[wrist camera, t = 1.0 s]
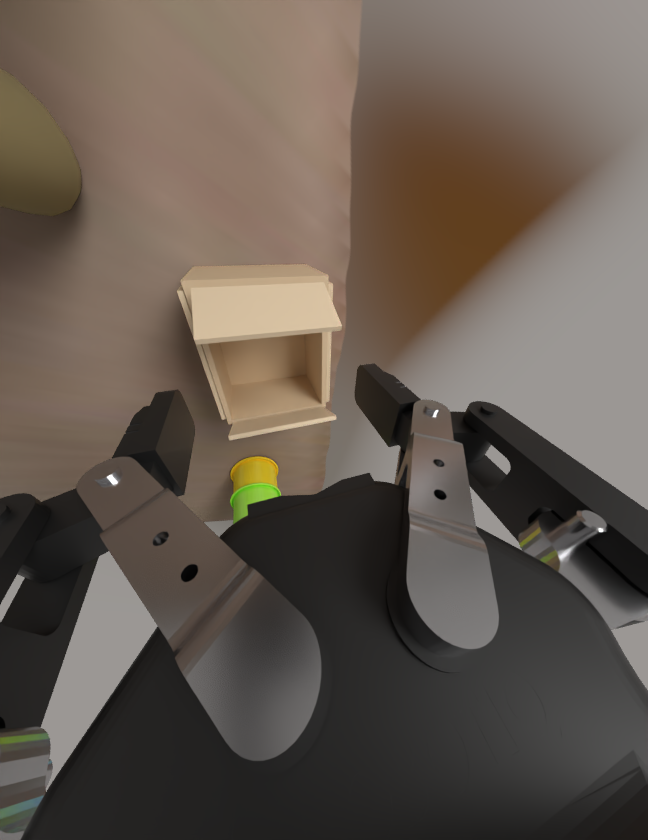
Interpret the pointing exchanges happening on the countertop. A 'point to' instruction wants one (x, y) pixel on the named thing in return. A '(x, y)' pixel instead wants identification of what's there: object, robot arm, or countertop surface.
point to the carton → (262, 350)
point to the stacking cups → (252, 483)
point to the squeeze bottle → (33, 155)
